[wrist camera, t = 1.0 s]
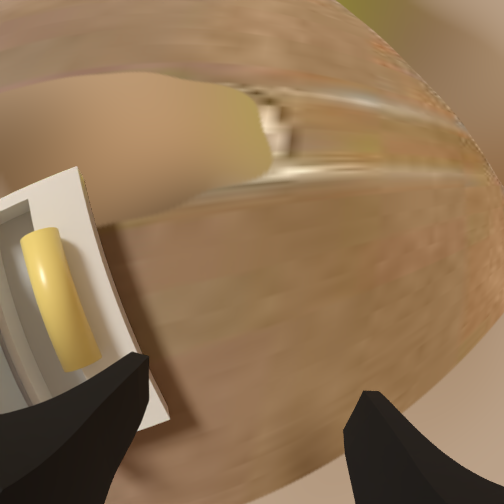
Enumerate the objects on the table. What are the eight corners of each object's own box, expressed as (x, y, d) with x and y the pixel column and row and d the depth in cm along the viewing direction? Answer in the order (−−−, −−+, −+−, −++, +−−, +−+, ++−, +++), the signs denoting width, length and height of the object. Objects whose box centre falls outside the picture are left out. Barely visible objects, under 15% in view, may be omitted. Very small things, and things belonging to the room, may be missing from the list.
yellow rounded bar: (108, 352, 19) (92, 365, 16) (75, 362, 18) (57, 375, 16) (65, 229, 19) (44, 225, 16) (34, 244, 18) (12, 242, 15)
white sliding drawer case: (167, 405, 23) (170, 419, 20) (58, 440, 19) (50, 455, 16) (83, 179, 23) (77, 166, 20) (-21, 224, 19) (-37, 218, 16)
